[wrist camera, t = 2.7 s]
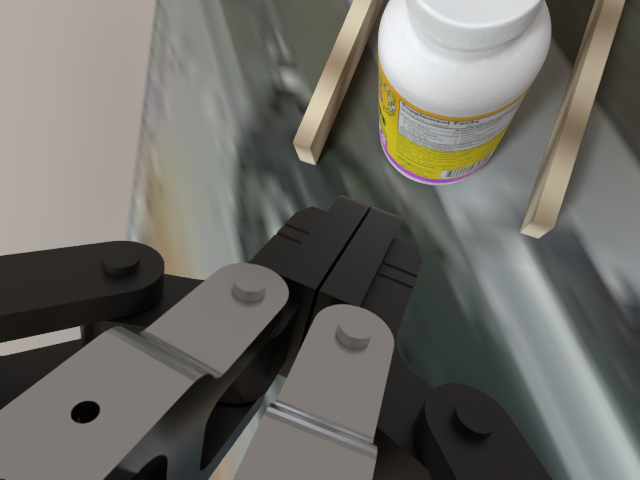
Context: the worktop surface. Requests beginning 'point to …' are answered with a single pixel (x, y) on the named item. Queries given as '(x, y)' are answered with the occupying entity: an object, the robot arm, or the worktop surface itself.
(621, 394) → the worktop surface
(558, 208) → the wooden frame stand
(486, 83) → the supplement bottle
